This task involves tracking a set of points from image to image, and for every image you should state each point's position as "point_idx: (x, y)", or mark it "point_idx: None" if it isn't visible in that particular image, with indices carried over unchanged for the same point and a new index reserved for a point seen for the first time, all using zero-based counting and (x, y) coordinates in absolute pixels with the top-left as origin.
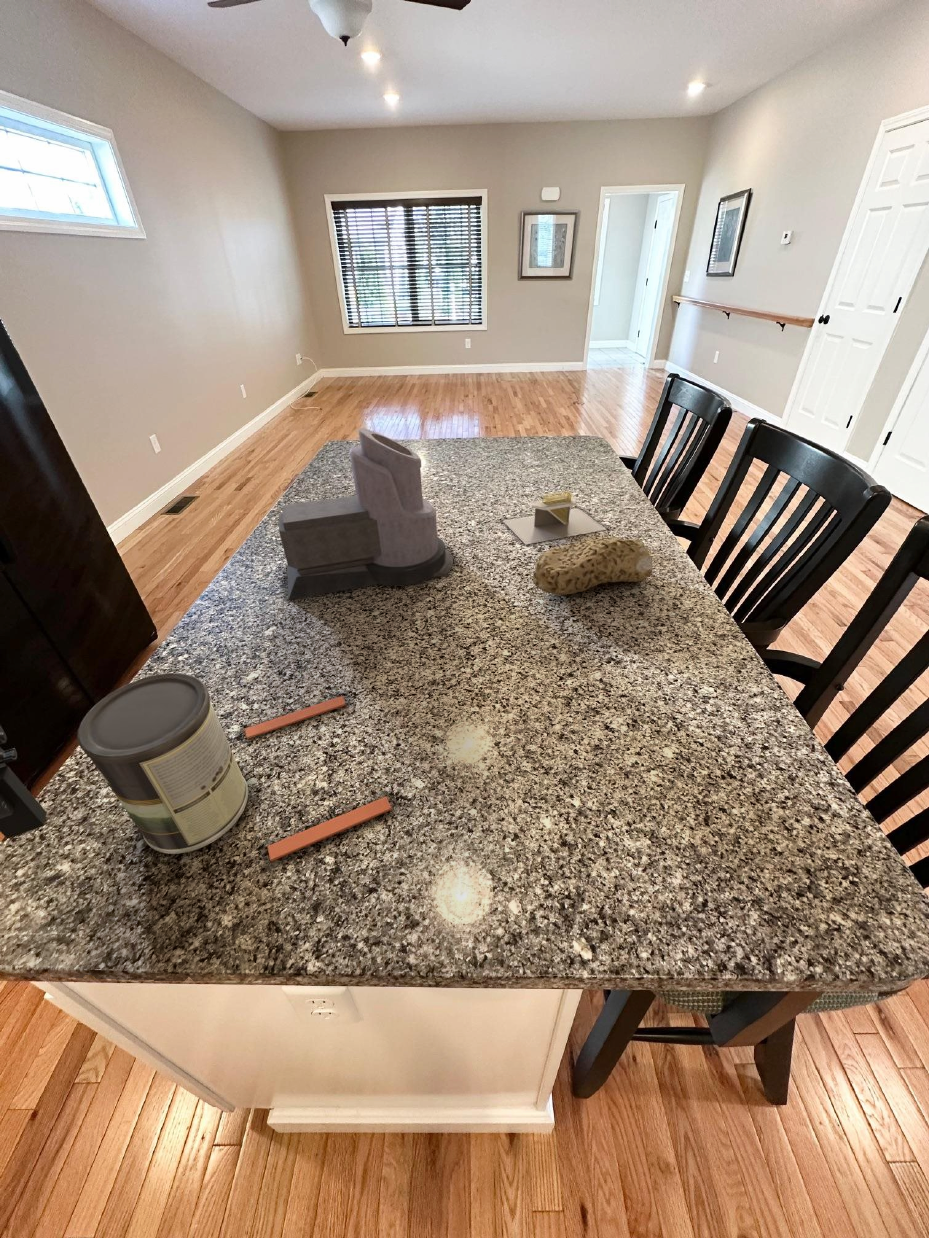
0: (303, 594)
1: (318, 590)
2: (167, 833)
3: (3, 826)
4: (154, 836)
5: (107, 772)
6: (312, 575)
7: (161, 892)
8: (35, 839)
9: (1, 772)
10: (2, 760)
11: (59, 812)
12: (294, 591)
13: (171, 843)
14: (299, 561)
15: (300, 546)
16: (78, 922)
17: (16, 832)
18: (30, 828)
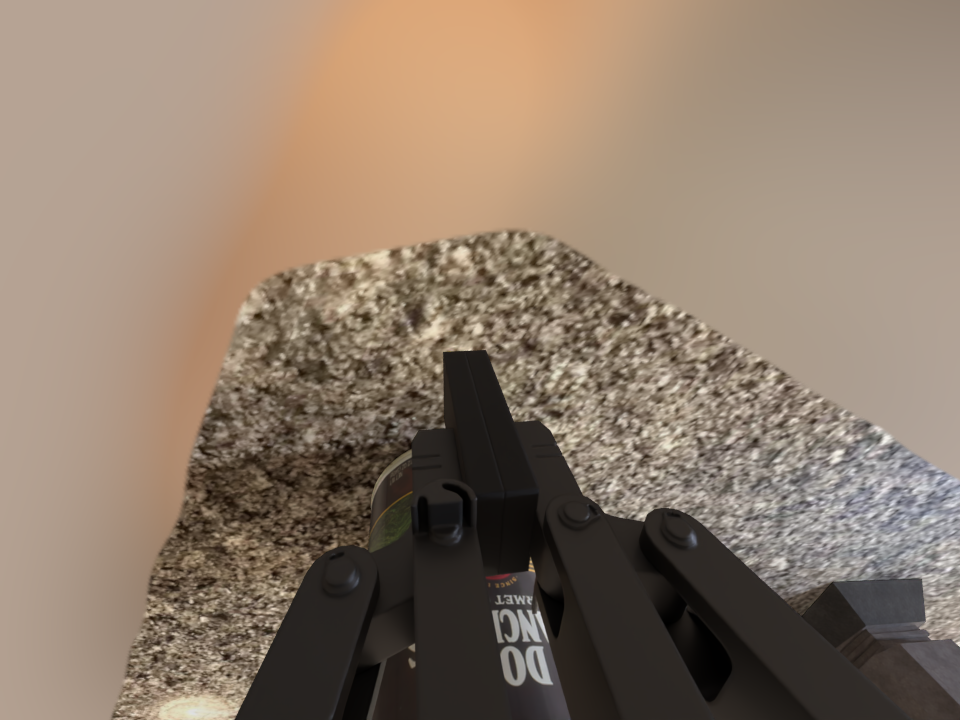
0: (823, 602)
1: (812, 619)
2: (371, 532)
3: (447, 385)
4: (383, 505)
5: (380, 714)
6: (847, 639)
7: (312, 468)
8: (532, 267)
9: (501, 568)
10: (535, 597)
11: (577, 300)
12: (840, 600)
13: (374, 506)
14: (886, 674)
15: (913, 715)
16: (301, 367)
17: (444, 377)
18: (444, 399)
